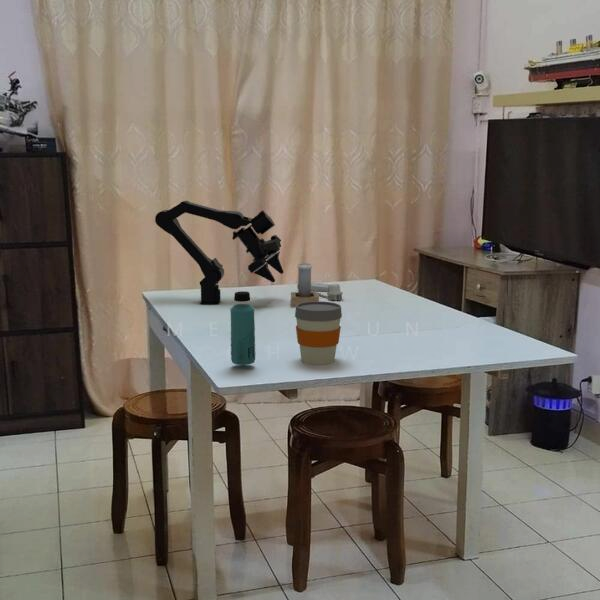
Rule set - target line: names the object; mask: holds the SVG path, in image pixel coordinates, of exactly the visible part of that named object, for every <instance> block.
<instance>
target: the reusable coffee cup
mask: <svg viewBox="0 0 600 600" xmlns="http://www.w3.org/2000/svg"><path fill="white" fill-rule="evenodd" d="M342 316H343V314H342V306H341V304H339V303H336V302H330V301H320V300H319V301H314V302H304V303H299V304H297V305H296V308H295V313H294V317H295V319H296V325H295V330H296V331H295V332H296V340H297V341H296V342H297V343H298V345H299V350H300V351H299V352H300V358H301V362H302V363H304V364H307V365H313V366H314V365H315V366H325V365H329V364H333V363H334V362H335V360H336V359H335V358H336V353H337V346H338V344H339V342H340V337H341V336H340V334H341V328H342V327H341V325H340V323H341V319H342Z"/></svg>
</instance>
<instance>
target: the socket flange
mask: <svg viewBox="0 0 600 600" xmlns="http://www.w3.org/2000/svg"><path fill="white" fill-rule="evenodd" d="M318 294H319V293H318V292H311V297H298V291H296V292H295V291H293V292H290V300H289V303H291V304H290V308H291V307H296V305H297V304H299V303H304V302H314V301H320V300H319V299H320V298H319V297H320V296H319V295H318Z"/></svg>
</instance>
